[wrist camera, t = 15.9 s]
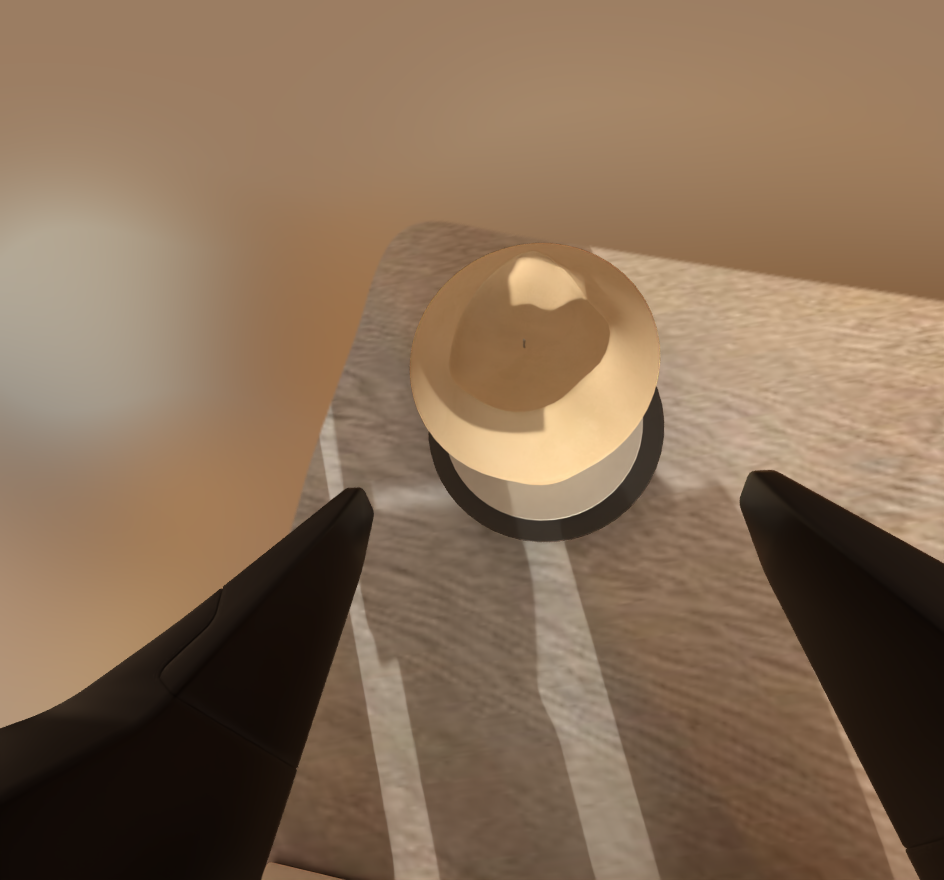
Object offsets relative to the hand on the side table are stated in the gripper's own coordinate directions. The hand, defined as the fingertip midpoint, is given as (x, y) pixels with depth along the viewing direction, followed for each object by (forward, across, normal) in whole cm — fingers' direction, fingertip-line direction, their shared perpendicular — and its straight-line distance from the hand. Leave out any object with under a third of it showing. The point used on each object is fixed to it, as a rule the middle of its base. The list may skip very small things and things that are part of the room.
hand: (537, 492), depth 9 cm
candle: (+8, 0, +3) cm, 8 cm away
